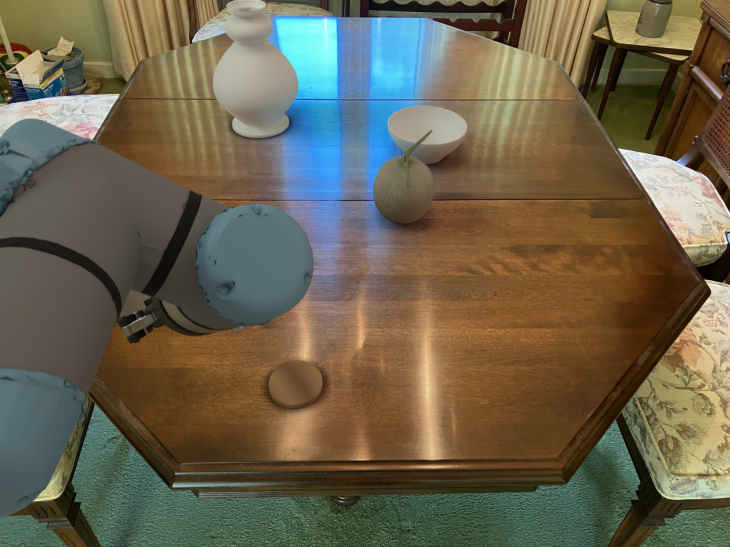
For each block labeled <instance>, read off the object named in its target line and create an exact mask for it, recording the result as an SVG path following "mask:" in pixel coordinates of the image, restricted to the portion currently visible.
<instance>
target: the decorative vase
mask: <svg viewBox="0 0 730 547" xmlns="http://www.w3.org/2000/svg"><path fill="white" fill-rule="evenodd" d="M225 7H226V11H227V13H229V14H230V15H229V16H228V18H227V19H226V21H225V22H224V25H223V28H224V32H225V34H226V36H227V37H229V38H230V39H231V40H232V41H233V42H232V43H231V45H230V46H229V47H228V48H227V50H226V51H225V52H224V53H223V54H222V56H221V58H220V60H219V61H218V63H217V65H216V67H215V69H214V73H213V76H212V90H213V94H214V97H215V99H216V101H217V102H218V104H220V105H221V107H222V108H223V109H225V111H227V113H229V114H230V115H231V116H232V117H233V119H232V120H231V127H232V129H233V131H234V132H235V133H236V134H238V135H240V136H241V137H246V138H252V139H266V138H270V137H274V136H277V135H280V134H282V133H284V132H285V131H286V130H287V129H288V127H289V126H290V118H289V116H288V115H287V114H286V113H287V111H288V110H289V109H290V108H291V106H292V105H293V103H294V101H295V100H296V98H297V95H298V93H299V79H298V75H297V72H296V69H295V68H294V66H293V64H292V63H291V62H290V60H289V59H288V58H287V56H286V55H285V54H284V53H283V52H282V51H281V50H280V49H279V48H278V47H277V46H275V45H274V44H272V43H271V41H269V40H268V38H270V36H271V35H272V34H273V30H274V23H273V21H272V19H271V18H270V17H269V16H268V15H267V14H265V13H264V12H266V10H267V4H266V2H265V1H263V0H232V1H230V2H228V3H227V4H226V5H225Z"/></svg>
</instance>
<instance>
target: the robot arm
mask: <svg viewBox="0 0 730 547" xmlns="http://www.w3.org/2000/svg"><path fill="white" fill-rule="evenodd" d="M314 262H315V261H314V253H313V248H312V245H311V243H310V240H309V237H308V235H307V233H306V232H305V230H304V229H303V228H302V225H301V224H300V223H298V221H297V220H295V219H294V218H293V217H292V216H291V215H290V214H289V213H287V212H286V211H284V210H282V209H281V208H278V207H276V206H273V205H269V204H265V203H264V204H263V203H243V204H240V205H238V206H230V207H229V206H227V205H225V204H223V203H221V202H219V201H216V200H214V199H212V198H211V197H209V196H207V195H204V194H201V193H198V192H195V191H193V190H190V188H187V187H185V186H183V185H181V184H180V183H178V182H175V181H173V180H171V179H170V178H167V177H165V176H164V175H161V174H160V173H157V172H155V171H154V170H152V169H149V168H148V167H145V166H144V165H141V164H139V163H138V162H136V161H133V160H131V159H129V158H128V157H126V156H123V155H122V154H120V153H117V152H115V151H114V150H112V149H110V148H108V147H107V146H104V145H103V144H102V143H101V142H99V141H98V140H95V139H91V138H89V137H85V138H84V137H82V136H80V135H78V134H75V133H73V132H72V131H68V130H66V129H64V128H62V127H59V126H57V125H55V124H52V123H49V122H48V121H45V120H44V119H39V118H33V117H32V118H31V117H30V118H24V119H20V120H18V121H16V122H15V123H13V124H12V125H10V126H9V127H8V128H7V129H6V130H5V131H4V132H3V133H2V134H1V136H0V518H4V517H7V516H10V515H12V514H15V513H17V512H19V511H21V510H23V509H24V508H26V507H27V506H29V505H31V504H32V503H33V502H34V501H36V499H37V498H38V497H39V496H40V495H41V494H42V492H43V491H46V489H47V487H48V486H49V484H50V483H51V480H52V478H53V477H54V474H55V471H56V470H57V467H58V465H59V463H60V461H61V458H62V456H63V454H64V452H65V450H66V448H67V445H68V443H69V441H70V440H71V438H72V435H73V432H74V431H75V428H76V426H77V425H78V424H79V423H81V422H82V420H83V418H84V417H85V414H86V411H87V407H88V404H87V400H88V399H87V398H88V396H89V394H90V391H91V388H92V386H93V383H94V381H95V378H96V376H97V373H98V370H99V368H100V364H101V363H102V360H103V357H104V354H105V353H106V349H107V346H108V344H109V342H110V339H111V336H112V334H113V331H114V328H115V326H116V325H118V327H119V328H120V330H121V331H122V333H123V334H124V336H125V338H126V340H127V341H128V343H129V345H132V344H137V343H139V342H140V340H141V339H144V338H145V337H147V336H148V335H151V333H152V332H153V331H154V330H155V329H159V328H161V327H163V326H165V327H167V328H169V330H171V331H172V332H175V333H177V334H180V335H183V336H187V337H202V336H207V335H208V336H209V335H213V334H216V333H218V332H222V331H228V330H232V332H233V333H234V334H240V333H242V332H243V331H244V330H245V327H248V326H249V327H250V328H252V327H255V326H263V325H266V324H268V323H270V322H271V321H272V320H275V319H277V318H278V317H280V316H283V315H285V314H287V313H288V312H290V311H292V309H294V308H295V307H296V306H297V305H298V304H300V302H301V301H302V300H303V298H304V297H305V296H306V294H307V292H308V290H309V287H310V286H311V284H312V280H313V275H314V271H315V270H314V269H315V268H314V266H315V265H314V264H315V263H314ZM130 289H131V290H134V291H137V292H140V293H142V294H145V295H148V296H150V297H151V298H149V299H147V300H145V301H143V302H144V304H145V306H146V308H145V310H144V311H143V310H138V311H136V312H134V313H132V314H130V315H128V316H123V317H121V318H120V317H119V316H120V314H121V311H122V309H123V306H124V304H125V301H126V299H127V297H128V294H129V292H130Z"/></svg>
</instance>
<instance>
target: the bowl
mask: <svg viewBox="0 0 730 547" xmlns="http://www.w3.org/2000/svg"><path fill="white" fill-rule="evenodd" d="M468 127H469V125H468V123H467V121H466V120H465V119H464V118H463V116H462V115H459V114H458V113H457V112H455V111H452V110H450V109H447V108H445V107H439V106H435V105H434V106H433V105H413V106H408V107H404V108H401V109H398V110H396V111H394V112H393V113H392V114H391V115H390V116H389V117H388V120H387V129H388V130H387V131H388V134H389V136H390V138H391V140H392V141H393V143H394V144H395V145H396V146H397V148H398V149H400V150H401V151H402V152H403V154H404V153H405V152H406V151H407V150H408V149H409V148H411V147H412V146H413V145H414V144H415V143H416V142H418V141H419V140H420V139H421V138H422V137H424V136H425V135H426V134H427V133H428V132H429V131H430V130H432V132H431V133H430V134H429V135H428V136H427V138H426V139H425V140H424V141H423V142H421V143H420V144H419V145H418V146H417V147H416V148H415V150H414V151H413V152H412V153H411V154H410V157H413V158H416V159H418V160H420V161H421V162H423V163H424V164H425V165H432V164H436V163H438V162H440V161H442V159H443V158H444V157H446V156H447V155H449V154H450V153H451V152H453V151H455V150H456V149H457V148H458V147H459V146H460V145H461V144H462V142H463V141H464V140H465V137H467V133H468Z"/></svg>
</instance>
